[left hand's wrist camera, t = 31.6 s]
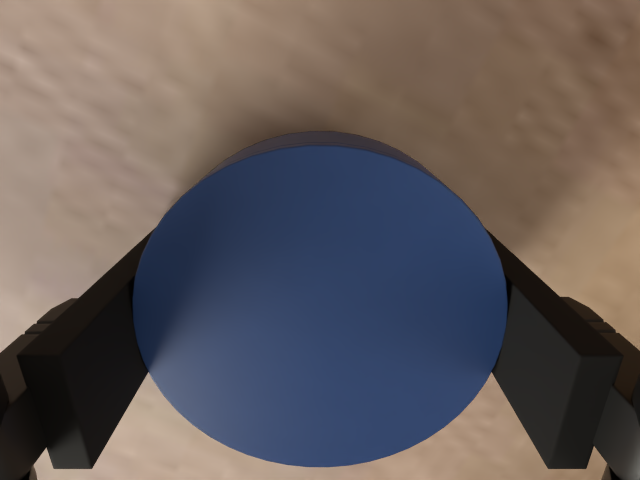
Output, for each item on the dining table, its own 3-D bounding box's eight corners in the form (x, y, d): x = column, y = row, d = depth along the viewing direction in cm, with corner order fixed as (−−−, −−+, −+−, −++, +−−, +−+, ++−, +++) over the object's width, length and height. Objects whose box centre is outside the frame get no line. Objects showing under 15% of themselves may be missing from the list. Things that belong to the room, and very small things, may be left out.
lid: (154, 116, 10) (111, 127, 8) (508, 145, 11) (556, 162, 8) (173, 398, 14) (146, 458, 11) (442, 414, 14) (465, 476, 12)
